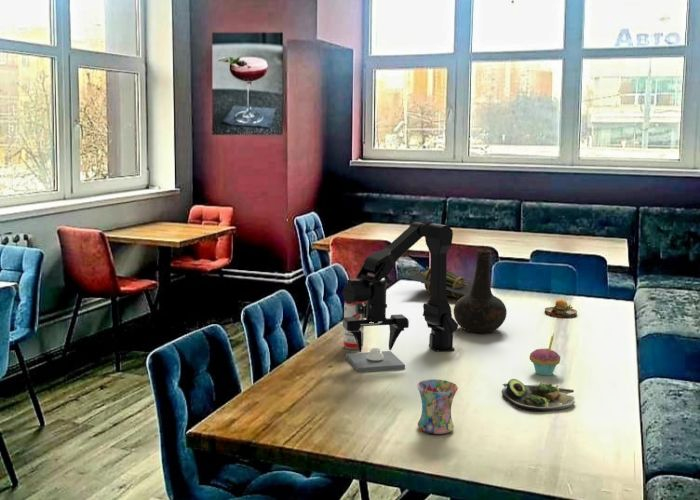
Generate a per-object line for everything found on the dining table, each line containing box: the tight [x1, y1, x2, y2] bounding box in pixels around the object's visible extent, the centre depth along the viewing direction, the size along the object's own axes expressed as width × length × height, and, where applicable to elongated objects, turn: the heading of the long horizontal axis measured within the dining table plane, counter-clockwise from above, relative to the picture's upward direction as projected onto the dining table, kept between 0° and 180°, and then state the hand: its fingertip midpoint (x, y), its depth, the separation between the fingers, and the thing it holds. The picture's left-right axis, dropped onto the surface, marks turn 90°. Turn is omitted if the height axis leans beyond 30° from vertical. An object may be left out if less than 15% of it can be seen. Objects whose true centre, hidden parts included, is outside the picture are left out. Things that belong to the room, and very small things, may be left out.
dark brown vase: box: [453, 249, 508, 334], centre depth 266 cm, size 18×18×28 cm
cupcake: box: [529, 333, 561, 377], centre depth 222 cm, size 9×8×12 cm
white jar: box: [367, 347, 384, 361], centre depth 229 cm, size 5×3×5 cm
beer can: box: [343, 300, 365, 350], centre depth 244 cm, size 6×6×16 cm
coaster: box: [345, 350, 406, 373], centre depth 230 cm, size 14×14×1 cm
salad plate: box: [501, 378, 576, 413], centre depth 202 cm, size 19×18×5 cm
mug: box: [416, 378, 459, 435], centre depth 179 cm, size 12×9×11 cm
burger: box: [544, 298, 578, 319], centre depth 292 cm, size 12×12×8 cm
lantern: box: [405, 266, 473, 299], centre depth 321 cm, size 14×23×30 cm
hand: (375, 350), depth 229 cm, fingers open, 9 cm apart
